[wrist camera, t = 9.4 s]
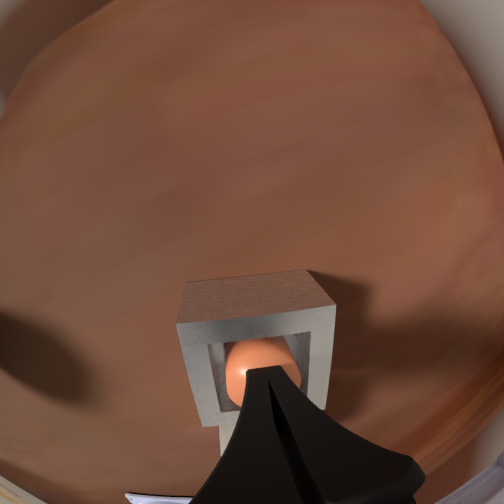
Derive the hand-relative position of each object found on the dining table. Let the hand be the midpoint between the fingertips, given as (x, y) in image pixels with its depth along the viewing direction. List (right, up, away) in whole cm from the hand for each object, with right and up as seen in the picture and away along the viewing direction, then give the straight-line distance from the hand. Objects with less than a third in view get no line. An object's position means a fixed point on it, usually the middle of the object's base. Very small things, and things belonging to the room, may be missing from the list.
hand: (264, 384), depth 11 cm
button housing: (-1, +1, +4) cm, 4 cm away
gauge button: (0, +1, +2) cm, 2 cm away
